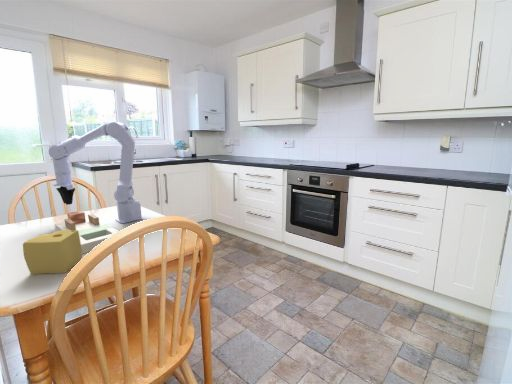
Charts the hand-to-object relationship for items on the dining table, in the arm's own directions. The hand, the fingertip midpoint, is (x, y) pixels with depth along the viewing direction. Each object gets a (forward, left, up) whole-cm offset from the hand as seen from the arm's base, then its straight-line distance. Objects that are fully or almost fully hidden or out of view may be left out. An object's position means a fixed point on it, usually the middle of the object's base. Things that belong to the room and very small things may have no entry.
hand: (68, 203), depth 123 cm
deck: (0, +22, -9) cm, 24 cm away
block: (0, +10, -6) cm, 12 cm away
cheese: (+15, +44, -10) cm, 47 cm away
